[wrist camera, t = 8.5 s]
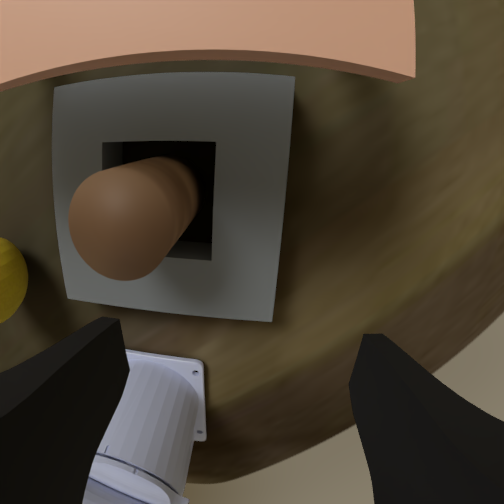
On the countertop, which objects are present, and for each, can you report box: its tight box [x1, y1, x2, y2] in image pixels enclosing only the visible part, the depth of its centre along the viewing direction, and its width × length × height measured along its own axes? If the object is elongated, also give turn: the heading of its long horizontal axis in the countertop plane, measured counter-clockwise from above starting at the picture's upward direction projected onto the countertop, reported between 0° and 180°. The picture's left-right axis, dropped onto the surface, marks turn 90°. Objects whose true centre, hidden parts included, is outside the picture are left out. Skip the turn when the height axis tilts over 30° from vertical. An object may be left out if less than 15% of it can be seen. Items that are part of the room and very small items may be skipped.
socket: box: [52, 72, 295, 322], centre depth 15 cm, size 12×12×2 cm
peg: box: [68, 154, 206, 281], centre depth 13 cm, size 4×4×7 cm
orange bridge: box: [0, 0, 415, 92], centre depth 9 cm, size 6×18×10 cm, turn 86°
